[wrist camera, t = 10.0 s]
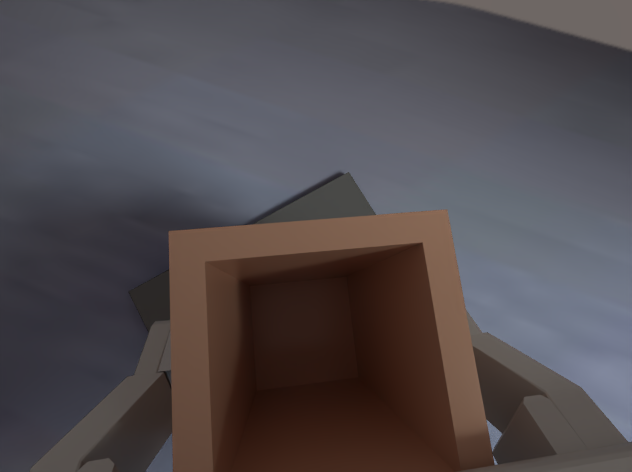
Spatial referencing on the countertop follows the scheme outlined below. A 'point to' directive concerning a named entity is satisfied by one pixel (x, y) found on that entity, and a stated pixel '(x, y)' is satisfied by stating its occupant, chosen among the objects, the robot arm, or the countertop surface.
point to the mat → (319, 204)
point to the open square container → (323, 348)
